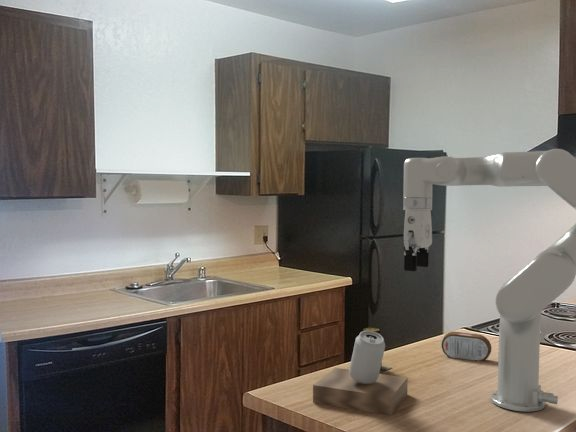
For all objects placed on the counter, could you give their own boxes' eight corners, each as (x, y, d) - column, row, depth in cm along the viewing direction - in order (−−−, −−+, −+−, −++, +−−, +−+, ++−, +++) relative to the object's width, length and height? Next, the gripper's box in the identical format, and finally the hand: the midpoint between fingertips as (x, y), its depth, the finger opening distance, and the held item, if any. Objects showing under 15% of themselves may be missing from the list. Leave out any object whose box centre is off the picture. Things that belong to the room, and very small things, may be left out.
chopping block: (407, 396, 157) (407, 377, 156) (390, 417, 142) (391, 397, 142) (335, 385, 165) (335, 367, 165) (312, 404, 151) (313, 384, 150)
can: (377, 372, 156) (387, 332, 152) (376, 389, 149) (386, 347, 145) (349, 365, 157) (357, 326, 153) (347, 382, 150) (355, 340, 146)
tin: (491, 361, 187) (491, 335, 186) (490, 364, 184) (490, 337, 183) (442, 355, 193) (442, 329, 193) (440, 358, 190) (440, 332, 190)
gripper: (420, 205, 150) (419, 273, 151) (441, 204, 165) (439, 266, 166) (392, 205, 154) (391, 271, 155) (414, 203, 169) (413, 264, 169)
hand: (416, 268), depth 160 cm, fingers open, 9 cm apart
